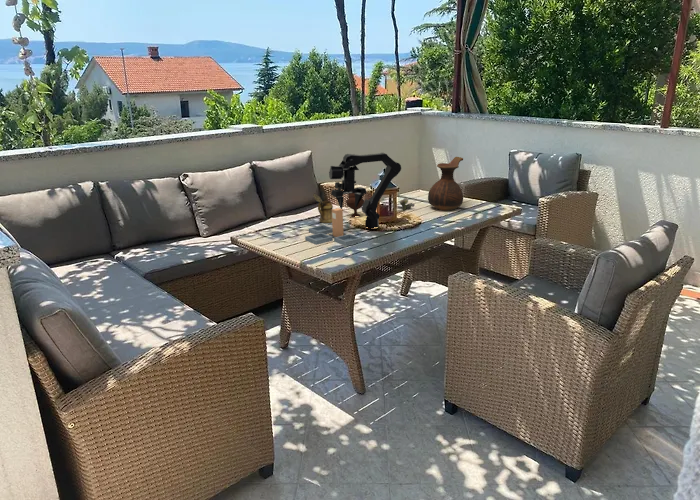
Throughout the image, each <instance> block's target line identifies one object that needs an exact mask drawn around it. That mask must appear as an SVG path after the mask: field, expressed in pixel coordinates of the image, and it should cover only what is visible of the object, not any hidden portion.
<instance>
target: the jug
mask: <svg viewBox="0 0 700 500" xmlns="http://www.w3.org/2000/svg"><path fill="white" fill-rule="evenodd" d="M463 160H464V157H459V156H455V157H453V158H452V160H451V161H450V162H447V163H446V162H445V163H444V162H442V163H441V162H440V163H438V164H436V166H437V168H438V169H440V171H441V176H440V179H439V180H437V181H435V183H433V185H432V186H431V187H430V188H429V191H428V193H427V199H428V200H427V202H428V203H429V205H430V206H431V207H433V208H435V210H438V209H439V211H444V212H445V211H446V212H447V211H448V210H449V211H454V210H456V209H457V208H459V207H460V206H462V204H463V202H464V194H463V190H462V189H461V187H460V184H458V183H457V182H456V181H455V179H454V172H455V170H456V169H458V168H459V164H460V163H461V161H463ZM449 211H448V212H449Z"/></svg>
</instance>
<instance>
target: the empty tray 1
mask: <svg viewBox="0 0 700 500" xmlns="http://www.w3.org/2000/svg"><path fill="white" fill-rule="evenodd" d="M307 229H308V233H310V234H312V235H314V234H318V233H324V234H326V235H330V234H333V227H331V226H328V225H326V224H322V225H317V226H313V227H309V228H307Z"/></svg>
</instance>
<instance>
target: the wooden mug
mask: <svg viewBox="0 0 700 500" xmlns="http://www.w3.org/2000/svg"><path fill="white" fill-rule="evenodd" d="M312 197H313V198H314V200H315V201H316V202H317V203H318V204H317V211H318V213H319V216H320V218H319V223H322V224H332V209H334V206H333V204H332V203H333V202H332V201H330V200H324V201H323V199H322V197H321V196H320V195H318V194H317V193H314V192H313V193H312Z"/></svg>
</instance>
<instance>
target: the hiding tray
mask: <svg viewBox="0 0 700 500" xmlns="http://www.w3.org/2000/svg"><path fill="white" fill-rule="evenodd" d="M329 235H330V234H324V233H318V234H310V235H306V236H305V235H304V239H305V241H306V242H308V243H311V244H314V245H316V246H317V245H320V244H325V243H328V242H332V241H333V242H334V239H333V237H332V236H329Z"/></svg>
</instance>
